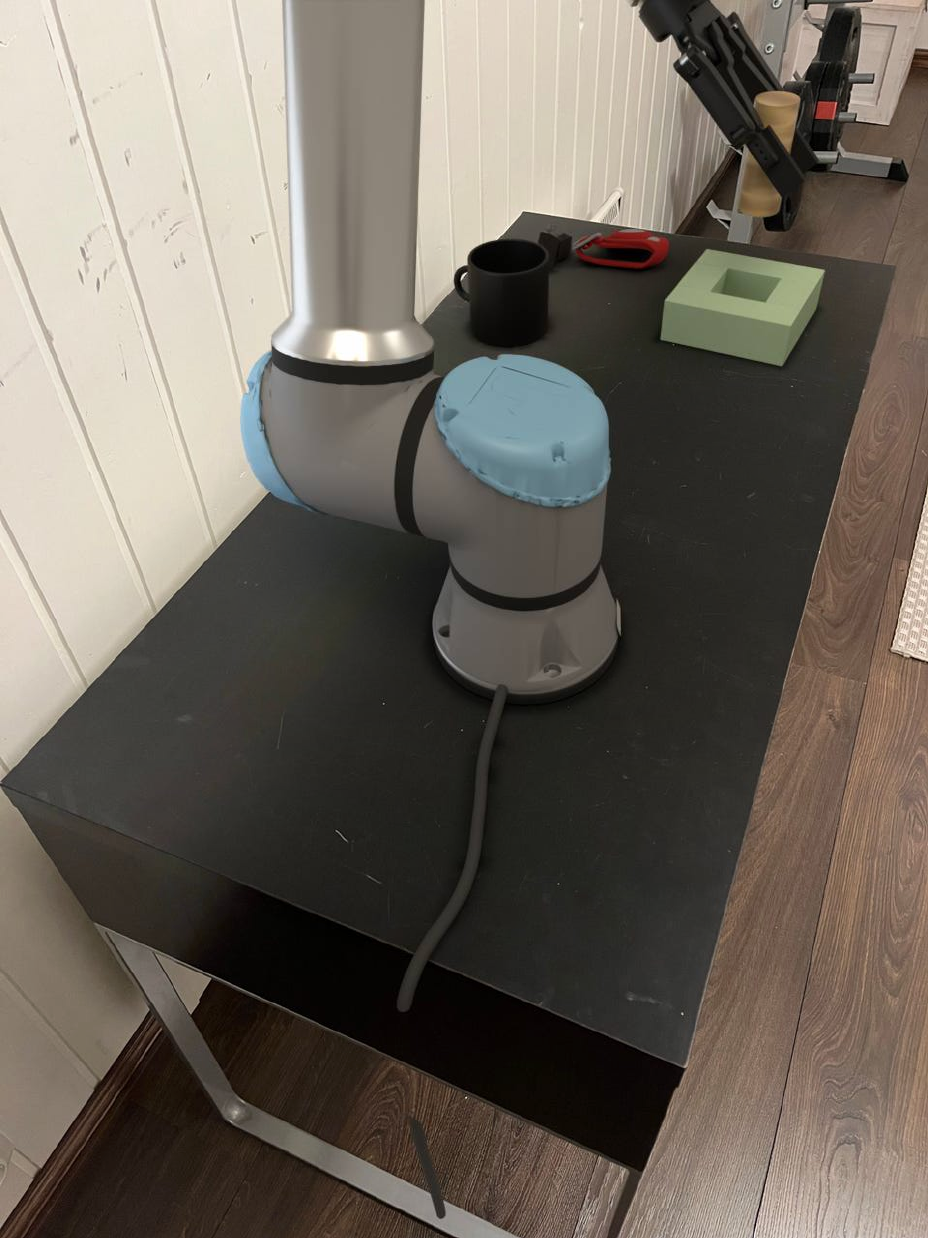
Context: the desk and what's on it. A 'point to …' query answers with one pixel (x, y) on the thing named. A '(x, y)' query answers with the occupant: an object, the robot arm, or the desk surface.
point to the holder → (742, 306)
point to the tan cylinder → (756, 186)
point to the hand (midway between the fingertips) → (800, 178)
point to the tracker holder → (625, 240)
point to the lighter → (555, 244)
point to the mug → (507, 291)
